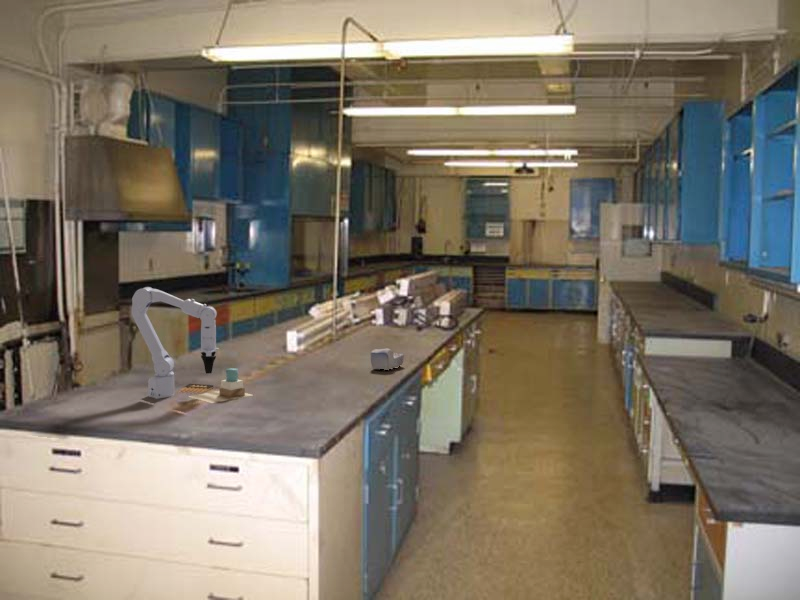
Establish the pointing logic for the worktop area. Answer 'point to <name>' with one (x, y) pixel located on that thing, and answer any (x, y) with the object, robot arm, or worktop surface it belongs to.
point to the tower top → (231, 385)
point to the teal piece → (231, 374)
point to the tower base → (232, 392)
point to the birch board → (214, 397)
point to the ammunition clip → (196, 388)
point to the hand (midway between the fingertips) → (208, 371)
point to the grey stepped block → (385, 359)
